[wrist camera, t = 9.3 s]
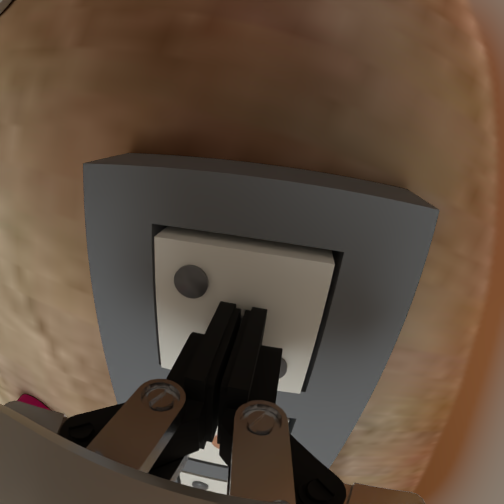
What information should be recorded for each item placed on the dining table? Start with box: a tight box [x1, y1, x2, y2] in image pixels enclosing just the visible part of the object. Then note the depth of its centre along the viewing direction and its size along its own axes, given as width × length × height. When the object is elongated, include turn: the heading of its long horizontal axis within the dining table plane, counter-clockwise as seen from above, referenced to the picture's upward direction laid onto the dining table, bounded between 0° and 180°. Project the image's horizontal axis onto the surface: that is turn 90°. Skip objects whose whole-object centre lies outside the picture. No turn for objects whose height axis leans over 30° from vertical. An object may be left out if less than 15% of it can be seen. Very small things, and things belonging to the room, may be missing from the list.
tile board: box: [83, 153, 439, 484], centre depth 17 cm, size 28×13×4 cm, turn 174°
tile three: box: [154, 226, 335, 394], centre depth 12 cm, size 6×6×3 cm
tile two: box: [180, 470, 227, 495], centre depth 19 cm, size 6×6×3 cm
